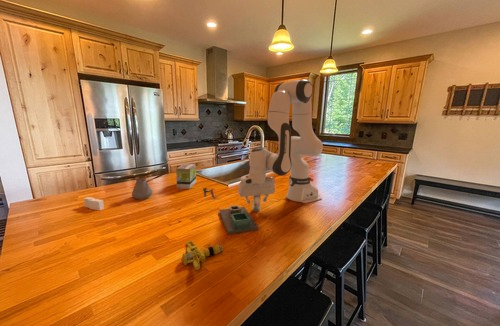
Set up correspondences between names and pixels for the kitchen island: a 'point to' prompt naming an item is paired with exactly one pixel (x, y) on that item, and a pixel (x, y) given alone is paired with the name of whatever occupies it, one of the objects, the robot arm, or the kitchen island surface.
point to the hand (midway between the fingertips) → (256, 202)
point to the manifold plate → (237, 220)
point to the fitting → (256, 203)
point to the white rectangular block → (93, 203)
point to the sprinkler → (199, 254)
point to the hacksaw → (209, 191)
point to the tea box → (186, 176)
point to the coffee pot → (143, 187)
